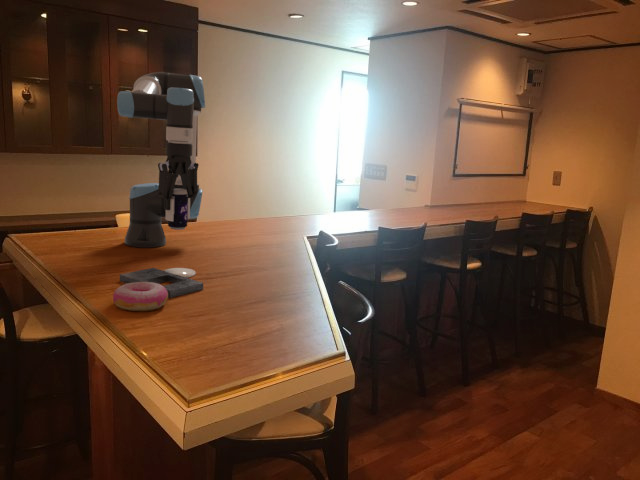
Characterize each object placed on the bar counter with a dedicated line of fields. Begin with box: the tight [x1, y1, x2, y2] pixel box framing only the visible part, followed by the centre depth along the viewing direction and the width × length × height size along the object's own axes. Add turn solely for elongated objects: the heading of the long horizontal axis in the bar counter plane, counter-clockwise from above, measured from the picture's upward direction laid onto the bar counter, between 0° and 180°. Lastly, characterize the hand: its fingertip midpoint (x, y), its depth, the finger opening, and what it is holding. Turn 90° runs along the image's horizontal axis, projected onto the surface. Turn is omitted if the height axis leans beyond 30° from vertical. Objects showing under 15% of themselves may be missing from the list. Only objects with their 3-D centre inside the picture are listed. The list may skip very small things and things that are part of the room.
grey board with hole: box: [119, 267, 204, 299], centre depth 152 cm, size 22×12×2 cm, turn 56°
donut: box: [112, 282, 169, 312], centre depth 134 cm, size 14×13×5 cm
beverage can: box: [167, 188, 188, 231], centre depth 159 cm, size 6×6×12 cm
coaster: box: [163, 267, 196, 278], centre depth 165 cm, size 10×10×1 cm
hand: (177, 219), depth 159 cm, fingers closed on beverage can, 6 cm apart
